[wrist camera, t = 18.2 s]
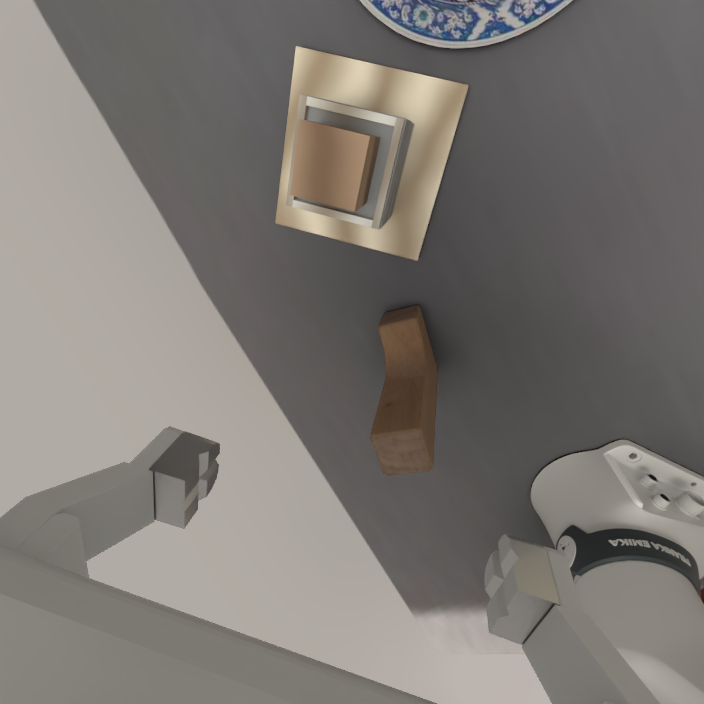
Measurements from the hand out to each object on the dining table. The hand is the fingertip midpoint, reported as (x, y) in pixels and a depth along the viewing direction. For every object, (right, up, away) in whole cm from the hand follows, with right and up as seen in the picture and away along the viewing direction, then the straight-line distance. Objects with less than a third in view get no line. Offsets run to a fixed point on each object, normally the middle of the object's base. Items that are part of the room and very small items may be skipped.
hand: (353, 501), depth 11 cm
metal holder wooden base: (+1, +24, +30) cm, 38 cm away
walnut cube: (-1, +19, +22) cm, 29 cm away
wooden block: (+7, +6, +38) cm, 39 cm away
